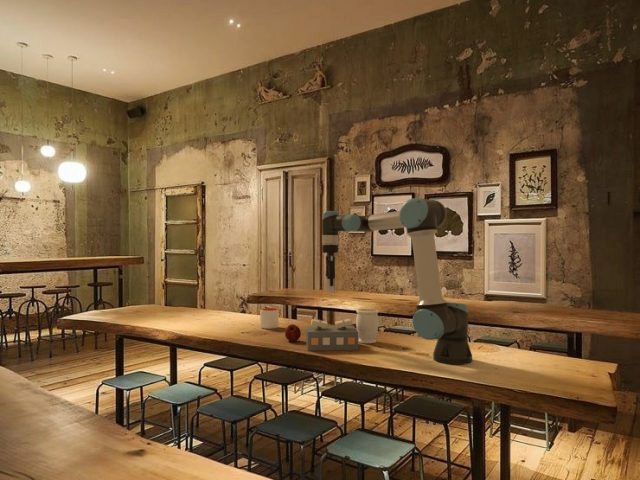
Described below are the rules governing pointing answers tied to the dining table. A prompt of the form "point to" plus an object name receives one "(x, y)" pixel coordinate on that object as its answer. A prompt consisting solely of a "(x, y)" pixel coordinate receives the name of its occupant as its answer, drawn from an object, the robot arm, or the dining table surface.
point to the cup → (269, 318)
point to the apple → (292, 333)
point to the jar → (367, 325)
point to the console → (331, 338)
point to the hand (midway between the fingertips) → (330, 291)
